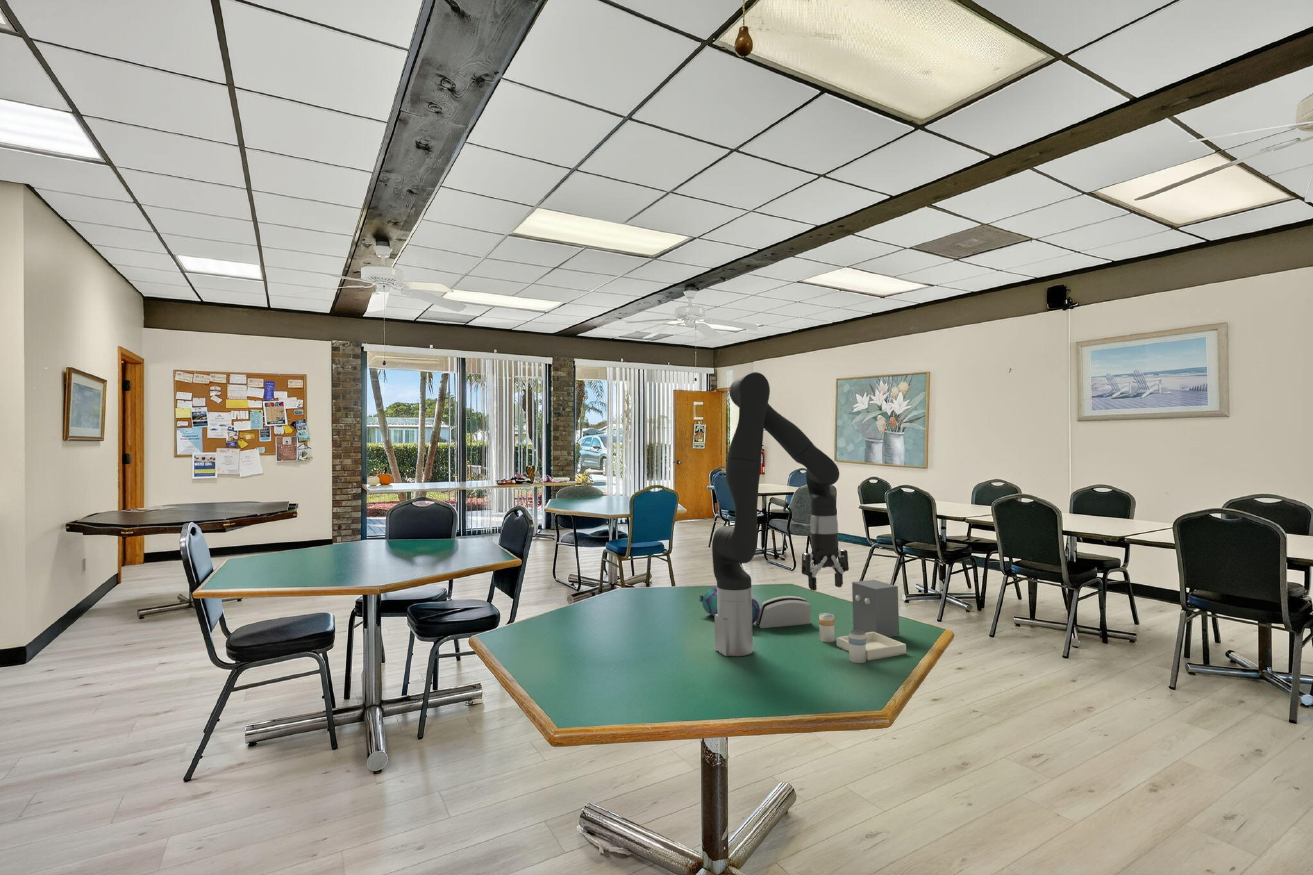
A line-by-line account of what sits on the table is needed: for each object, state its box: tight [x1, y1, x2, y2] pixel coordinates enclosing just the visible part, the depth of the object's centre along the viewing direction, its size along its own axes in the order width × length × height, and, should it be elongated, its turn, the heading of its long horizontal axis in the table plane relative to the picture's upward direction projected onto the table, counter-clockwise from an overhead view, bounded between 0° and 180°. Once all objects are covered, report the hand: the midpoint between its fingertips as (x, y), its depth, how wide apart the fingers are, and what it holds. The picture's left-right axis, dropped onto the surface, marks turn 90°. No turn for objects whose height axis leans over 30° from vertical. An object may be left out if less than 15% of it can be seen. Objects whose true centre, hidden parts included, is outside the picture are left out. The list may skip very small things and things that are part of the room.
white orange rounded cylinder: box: [818, 612, 836, 643], centre depth 173 cm, size 4×4×7 cm
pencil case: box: [698, 585, 761, 626], centre depth 194 cm, size 21×9×10 cm, turn 32°
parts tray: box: [836, 632, 907, 662], centre depth 163 cm, size 12×12×2 cm
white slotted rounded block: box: [755, 595, 811, 629], centre depth 188 cm, size 17×5×10 cm, turn 104°
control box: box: [851, 579, 900, 638], centre depth 179 cm, size 9×10×14 cm
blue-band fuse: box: [847, 630, 867, 664], centre depth 155 cm, size 4×4×7 cm
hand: (825, 588), depth 173 cm, fingers open, 8 cm apart
